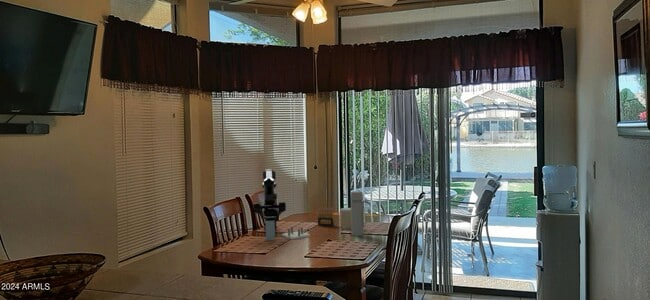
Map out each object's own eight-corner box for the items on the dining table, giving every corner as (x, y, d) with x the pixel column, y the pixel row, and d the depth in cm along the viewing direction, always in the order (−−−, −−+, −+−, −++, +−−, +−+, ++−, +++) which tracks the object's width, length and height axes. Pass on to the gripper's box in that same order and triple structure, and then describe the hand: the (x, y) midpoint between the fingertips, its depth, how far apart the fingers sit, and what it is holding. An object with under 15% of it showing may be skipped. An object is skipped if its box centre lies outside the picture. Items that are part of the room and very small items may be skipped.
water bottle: (348, 235, 276) (348, 192, 275) (354, 233, 283) (353, 191, 282) (363, 237, 272) (362, 193, 271) (369, 234, 279) (368, 191, 278)
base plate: (281, 236, 280) (281, 228, 280) (299, 233, 287) (299, 225, 287) (291, 239, 270) (291, 231, 270) (309, 236, 277) (309, 228, 277)
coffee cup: (358, 227, 300) (357, 208, 299) (348, 230, 293) (348, 210, 293) (346, 226, 306) (346, 207, 306) (337, 228, 299) (336, 209, 299)
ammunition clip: (334, 225, 309) (333, 207, 309) (333, 226, 307) (332, 207, 307) (318, 224, 313) (318, 206, 312) (317, 225, 311) (317, 206, 311)
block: (266, 238, 275) (265, 221, 275) (274, 237, 276) (274, 220, 276) (266, 240, 270) (265, 222, 270) (275, 239, 271) (274, 222, 271)
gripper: (253, 189, 280) (253, 211, 270) (285, 188, 283) (286, 209, 272) (253, 201, 288) (253, 222, 278) (284, 200, 291) (286, 221, 280)
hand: (270, 218), depth 277 cm, fingers open, 9 cm apart
